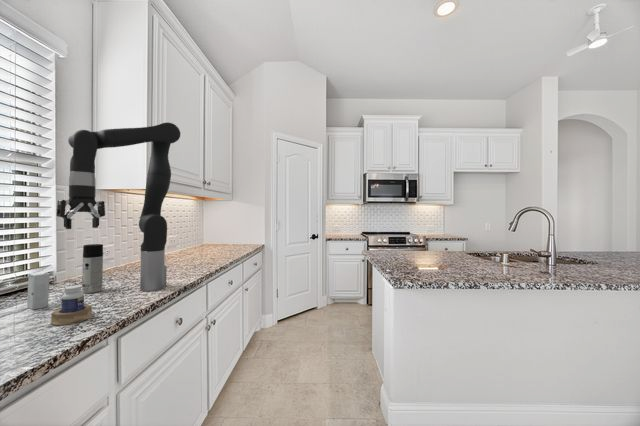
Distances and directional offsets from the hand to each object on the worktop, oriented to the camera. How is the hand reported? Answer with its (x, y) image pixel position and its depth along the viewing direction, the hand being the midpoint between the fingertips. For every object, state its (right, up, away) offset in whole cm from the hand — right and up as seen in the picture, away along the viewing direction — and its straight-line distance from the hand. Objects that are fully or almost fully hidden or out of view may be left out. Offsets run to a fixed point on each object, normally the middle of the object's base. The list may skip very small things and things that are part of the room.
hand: (82, 228), depth 103 cm
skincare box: (-13, -28, -4) cm, 31 cm away
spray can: (-9, -28, +15) cm, 33 cm away
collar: (+9, -28, -14) cm, 33 cm away
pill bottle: (+9, -28, -14) cm, 33 cm away
